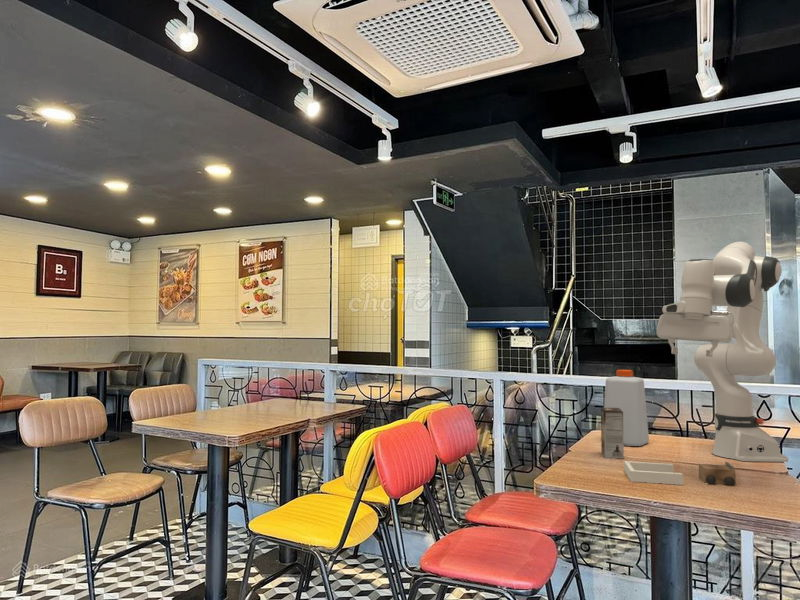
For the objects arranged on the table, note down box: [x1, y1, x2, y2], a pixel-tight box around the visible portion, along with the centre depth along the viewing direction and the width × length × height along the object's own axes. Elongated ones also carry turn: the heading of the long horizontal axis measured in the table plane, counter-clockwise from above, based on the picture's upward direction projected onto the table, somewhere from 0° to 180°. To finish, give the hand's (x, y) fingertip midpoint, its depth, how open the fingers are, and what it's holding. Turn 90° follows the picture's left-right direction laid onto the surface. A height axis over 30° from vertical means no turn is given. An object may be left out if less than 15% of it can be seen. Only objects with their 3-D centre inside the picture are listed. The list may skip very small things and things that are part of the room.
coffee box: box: [600, 407, 625, 460], centre depth 197 cm, size 9×6×16 cm
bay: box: [623, 460, 684, 486], centre depth 168 cm, size 14×13×3 cm
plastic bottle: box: [603, 369, 650, 447], centre depth 221 cm, size 15×15×28 cm
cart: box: [698, 461, 737, 487], centre depth 164 cm, size 8×7×5 cm
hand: (691, 355), depth 170 cm, fingers open, 8 cm apart
